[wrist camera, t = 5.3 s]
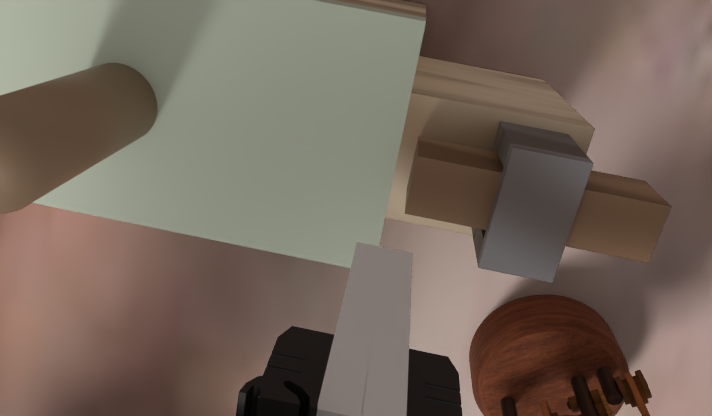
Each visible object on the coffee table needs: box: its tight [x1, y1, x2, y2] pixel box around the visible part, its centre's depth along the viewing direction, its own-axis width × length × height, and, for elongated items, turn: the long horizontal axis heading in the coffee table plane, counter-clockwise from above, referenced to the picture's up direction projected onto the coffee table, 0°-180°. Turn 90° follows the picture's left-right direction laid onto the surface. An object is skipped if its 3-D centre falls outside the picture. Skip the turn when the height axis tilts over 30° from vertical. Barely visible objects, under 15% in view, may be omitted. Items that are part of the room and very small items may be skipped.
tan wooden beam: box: [405, 136, 671, 263], centre depth 25 cm, size 2×10×3 cm, turn 80°
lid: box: [0, 0, 426, 268], centre depth 24 cm, size 12×26×11 cm, turn 80°
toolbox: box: [335, 0, 595, 283], centre depth 31 cm, size 12×34×16 cm, turn 80°
